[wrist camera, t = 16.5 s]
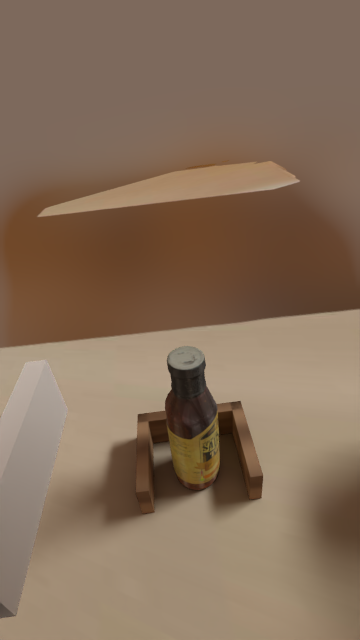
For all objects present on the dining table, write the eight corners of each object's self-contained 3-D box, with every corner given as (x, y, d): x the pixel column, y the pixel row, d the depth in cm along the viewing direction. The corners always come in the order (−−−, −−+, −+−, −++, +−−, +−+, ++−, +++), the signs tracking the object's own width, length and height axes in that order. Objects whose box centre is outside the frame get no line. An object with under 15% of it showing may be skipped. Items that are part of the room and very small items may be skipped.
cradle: (261, 497, 42) (263, 475, 39) (142, 513, 42) (135, 492, 39) (240, 423, 51) (240, 401, 49) (143, 436, 51) (137, 414, 48)
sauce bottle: (215, 497, 42) (208, 386, 31) (169, 487, 44) (146, 378, 33) (224, 452, 48) (220, 343, 36) (181, 444, 49) (165, 338, 38)
